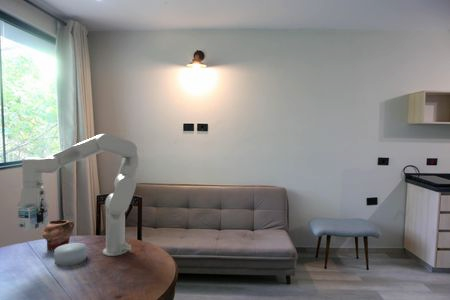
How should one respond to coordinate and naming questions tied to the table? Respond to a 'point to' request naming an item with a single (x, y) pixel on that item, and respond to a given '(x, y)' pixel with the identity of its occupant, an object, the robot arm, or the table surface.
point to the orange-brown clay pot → (58, 233)
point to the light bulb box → (30, 218)
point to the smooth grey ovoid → (70, 254)
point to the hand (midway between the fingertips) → (33, 221)
